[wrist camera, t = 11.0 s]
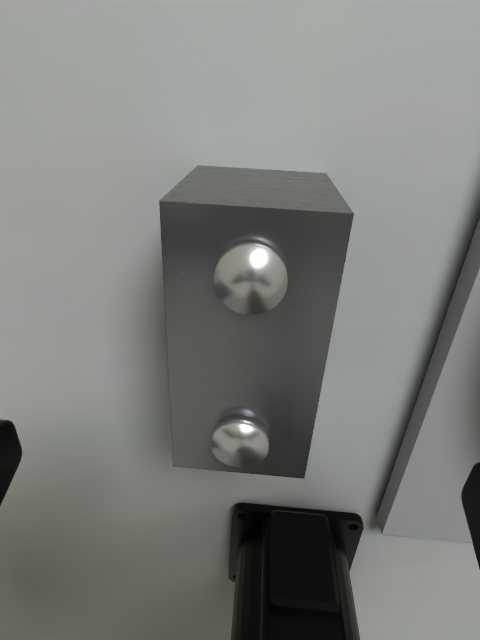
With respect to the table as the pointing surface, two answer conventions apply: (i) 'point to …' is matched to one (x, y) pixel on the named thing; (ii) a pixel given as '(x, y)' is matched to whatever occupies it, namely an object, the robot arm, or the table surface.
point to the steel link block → (249, 313)
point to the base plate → (442, 425)
